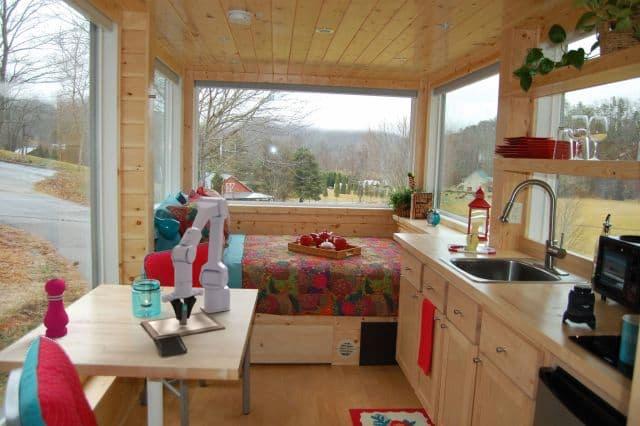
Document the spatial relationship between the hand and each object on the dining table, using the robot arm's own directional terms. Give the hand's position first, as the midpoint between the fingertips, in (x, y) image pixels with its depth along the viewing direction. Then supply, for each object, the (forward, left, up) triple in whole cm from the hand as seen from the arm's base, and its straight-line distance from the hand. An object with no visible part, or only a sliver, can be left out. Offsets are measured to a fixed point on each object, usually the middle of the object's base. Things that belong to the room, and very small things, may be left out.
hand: (183, 318), depth 167 cm
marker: (0, 0, -2) cm, 2 cm away
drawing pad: (-1, -3, -4) cm, 5 cm away
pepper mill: (+37, -14, -4) cm, 40 cm away
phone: (+8, +12, -4) cm, 15 cm away
